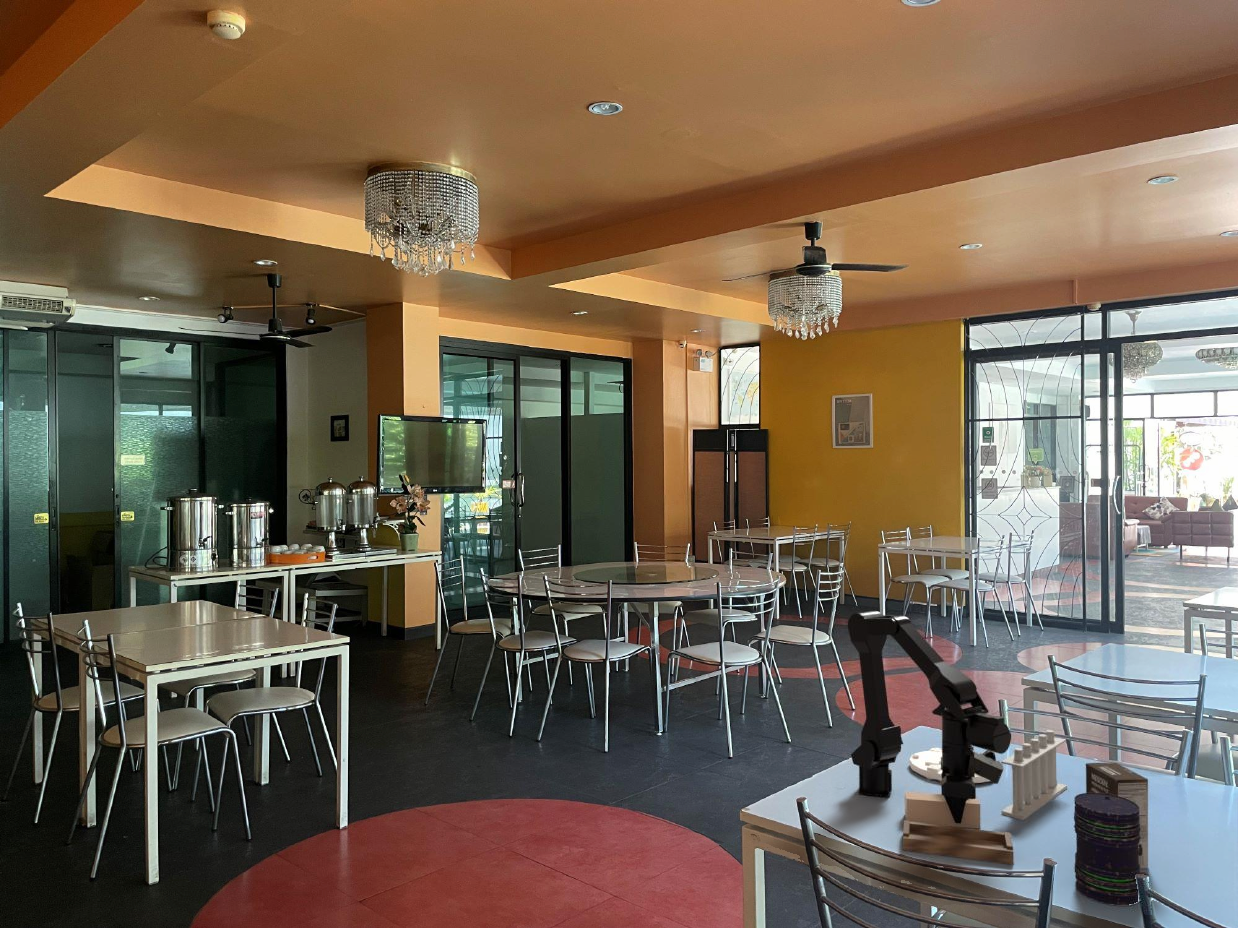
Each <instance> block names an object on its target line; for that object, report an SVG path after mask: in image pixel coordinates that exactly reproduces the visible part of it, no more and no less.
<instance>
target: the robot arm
mask: <svg viewBox="0 0 1238 928" xmlns="http://www.w3.org/2000/svg"><path fill="white" fill-rule="evenodd" d="M846 624H847V630H848V635H849V639H850V642H851V643H852V646H854V648H855V649H856V651H857V652H858V655H859V665H860V667H859V668H860V673H861V674H860V675H861V682H862V683H861V684H862V691H863V700H864V701H863V703H864V709H865V711H864V712H865V721H864V723H863V726H862V729H861V731H860V745H859V746H858V747H857V748H856V749H855V750H854V751H853V752H851V754H850V757H851V761H852V764H853V765H856V766H858V786H859V787H858V791H857V793H858V795H864V796H865V795H867V796H874V797H880V798H881V797H882V798H889V797H890V793H892V791H893V771H892V769H890V764H893V763H896V759H897V758H898V755H899V754H900V753H901V752H902V745H904V741H903V739H902V728H901V726H900V725H899V724H898V725H895V724H894V722H893V720H892V719H891V717H890V712H889V705H888V704H889V703H888V695H887V685H886V677H885V668H884V659H883V649H884V647H885V644H886V641H887V638H888V636H891V637H892V639H893V640H894V641H895V642H896V643H897V644H898V645H899V647H900V648H901V649H902V650H903V651H904V653H905V654H907V656H908V657H909V658H910V660H912V662H913V663H914V664H915V665H916V666H917V667H918V669H919V670H920V671H921V672H922V673H923V674H924V675H925V677H926V679H927V680H928V684H929V688H930V691H931V693H932V694H933V696H934V697H935V698H936V699H935V700H937V702H938V703H939V705H938V706H937V707H936V708H934V709H933V710H932V711H931V713H932V714H933V715H935V716H940V717H941V750H942V757H941V770H942V773H941V777H942V780H941V782H940V784H941V787H940V790H941V791H940V792H941V794H942V795H943V796H944V798H945V800H946V802H947V804H948V807H949V809H950V811H951V814H952V816H953V819H954V821H955V823H959V824H960V823H961V821H962V817H963V813H964V808H965V804H966V801H967V800H968V799H976V797H977V796H976V795H977V793H976V791H977V790H976V789H977V788H976V783H974V782H973V781H972V780H973V778H972V777H975V774H977V775H979V776H981V777H983V778H986V779H988V780H990V781H989V782H990V783H993V784H995V785H997V784H999V782H1000V779H1001V777H1002V774H1003V773H1004V764H1003V763H1001V761H1000V760H997V759H996V754H1000V755H1002V754H1005V753H1006V752H1007V751H1008V750H1009V748H1010V746H1011V742H1012V733H1011V731H1010V728H1009V726H1008V725H1007V724H1006V723H1005V717H1004V716H1000V715H991V714H989V708H987V706H986V704H985V703H984V701H983V699H982V698H981V696H980V694H979V692H978V690H977V689H978V688H977V685H976V684H975V682H974V681H973V680H972V678H970V677H969V676H967V674H965V673H964V672H962V671H961V670H960V669H959V668H956V667H954V666H952V665H950V664H949V663H947V662H946V661H945V659H943V658H942V657H941V655H940V654H939V653H938V652H937V651H936V650H935V649H934V648H933V647H932V646H931V645H930V643H929V642H928V641H927V640H926V639H925V638H924V636H923V635H922V634H921V633H920V632H919V631H918V630H917V629H916V628H915V627H914V625H913V624H912V621H911V620H910V618H909V617H907V616H905V615H892V614H891V615H884V614H882V612H880V611H877V610H872V611H865V612H864V611H863V612H856V613H853V614H852V615H851V616H850V617H849V618H848V619H847V623H846ZM966 706H969V707H966ZM962 707H965V708H962ZM974 747H976V748H978V749H982V750H986V751H984V752H982V753H981V752H976V751H975V748H974ZM979 753H980V754H979Z"/></svg>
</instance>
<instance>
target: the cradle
mask: <svg viewBox="0 0 1238 928" xmlns="http://www.w3.org/2000/svg"><path fill="white" fill-rule="evenodd" d="M902 834H903V835H902V836H903V837H902V845H903V846H902V848H903V849H902V850H903V851H906V852H908V851H909V852H915V853H923V854H930V855H939V856H945V857H946V856H947V857H954V858H959V859H968V860H969V859H970V860H977V861H982V862H983V861H984V862H991V863H992V862H993V863H999V864H1007V865H1014V857H1015V855H1014V845H1013V841H1012V836H1011V832H1006V831H1004V832H1001V831H1000V832H999V831H992V830H984V829H978V828H970V827H957V826H944V825H935V824H927V823H918V822H910V821H907V820H906V819H904V820H903V833H902Z"/></svg>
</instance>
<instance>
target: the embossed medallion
mask: <svg viewBox="0 0 1238 928" xmlns="http://www.w3.org/2000/svg"><path fill="white" fill-rule="evenodd" d="M978 753H979V754H980V753H981V752H978ZM941 757H942V749H941V748H940V747H932V748H930V750H927V751H920V752H919V751H918V752H916V753H912V755H911V756H910V758H909V766H910V768H911V770H913V771H914V772H915V773H917V774H919V775H921V776H922V777H924V778H926V779H928V780H932V781H933V780H937V781H939V782H940V783H941V780H942V777H941V773H942V770H941ZM972 778H973V780H972V781H973V782H974V783H975V784H978V783H979V784H980V783H985V782H986V783H987V782H991V781H990V780H988V779H986V778H983V777H981V776H979V775H977V774H975V777H972Z"/></svg>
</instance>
